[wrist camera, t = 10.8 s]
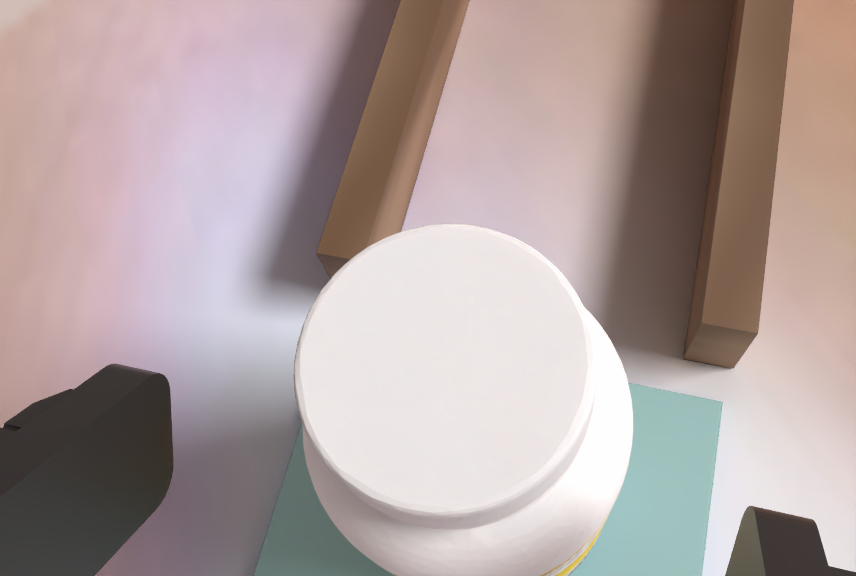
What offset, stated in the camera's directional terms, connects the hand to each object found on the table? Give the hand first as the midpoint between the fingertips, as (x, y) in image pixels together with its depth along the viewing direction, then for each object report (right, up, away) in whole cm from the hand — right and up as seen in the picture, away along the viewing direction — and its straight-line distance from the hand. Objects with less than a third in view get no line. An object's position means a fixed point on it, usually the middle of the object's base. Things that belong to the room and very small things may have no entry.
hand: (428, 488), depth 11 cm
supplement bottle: (+2, -2, +8) cm, 9 cm away
